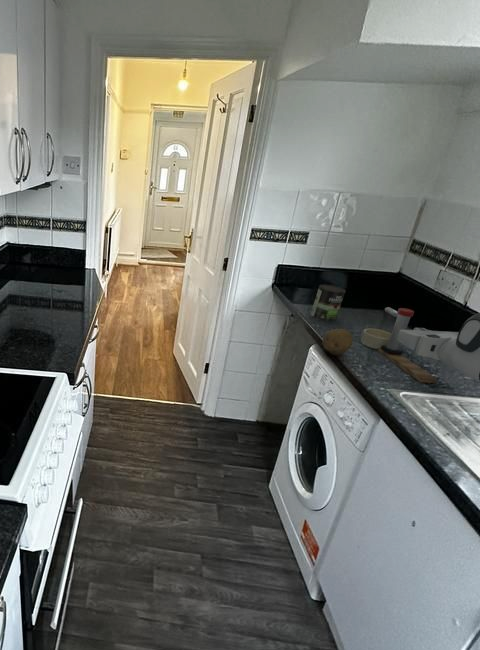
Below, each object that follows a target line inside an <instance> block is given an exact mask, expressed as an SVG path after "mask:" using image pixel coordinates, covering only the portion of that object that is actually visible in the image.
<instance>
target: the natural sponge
mask: <svg viewBox="0 0 480 650" xmlns="http://www.w3.org/2000/svg"><path fill="white" fill-rule="evenodd" d="M353 340H354V339H353V336H352V334H351V333H350V332H349V331H348V330H346V329H343V328H334V329H331V330H329V331H327V332H326V333H325V334H324V336H323V337H322V342H321V344H322V346H323V348H324V349H325V350H326V351H327V352H329V354H330V355H332V356H341V355H343V354H345V353H346V352H347V351H348V350H350V349H351V348H352V346H353V343H354V341H353Z"/></svg>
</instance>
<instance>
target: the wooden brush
mask: <svg viewBox="0 0 480 650" xmlns="http://www.w3.org/2000/svg"><path fill="white" fill-rule="evenodd" d="M377 352H379V354H381V355H382V356H384V357H385V358H386V359H388V360H389V361H390V362H392V363H393V364H394V365H395V366H397V367H398V368H400V369H401V370H402V371H404V372H405V373H407V375H409V376H411V377H412V378H414V379H415V380H417V382H419V383H425V384H426V383H427V384H437V381H438V378H437V377H435V376H433V375H432V374H431V373H429V372H428V371H426V370H425V369H423V368H422V367H420V366H419V365H417V364H416V363H414V362H413V361H411V360H409V359H408V358H407V357H405V356H404V355H403V354H402V355H391V354H387V353H386V352H385V351H383V350H382V349H381V348H379V349H377Z"/></svg>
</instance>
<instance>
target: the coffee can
mask: <svg viewBox="0 0 480 650" xmlns="http://www.w3.org/2000/svg"><path fill="white" fill-rule="evenodd" d="M346 293H347V290H346V289H345V288H343V287H340V286H337V285H332V284H319V285H318V289H317V293H316V296H315V299H314V302H313V305H312V309H311V312H310V314H309V315H310V316H311V317H312V318H313V319H315V320H318V321H321V322H327V323H328V322H331V323H332V322H335V321H336V319H337V318H338V314H339V311H340V309H341V305H342V303H343V299H344V297H345V294H346Z"/></svg>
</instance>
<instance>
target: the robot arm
mask: <svg viewBox="0 0 480 650" xmlns="http://www.w3.org/2000/svg"><path fill="white" fill-rule="evenodd" d="M397 340H398V341H399V342H400V343H401V344H402V345H403V346H404V347H406V348H407V349H409V350H411V351H415V353H414V354H416V355H417V356H418V357H423V358H429V359H433V360H436V361H438V362H442V363H444V364H446V365H448V366H451V367H453V369H455V371H457V372H459V373H461V374H463V375H464V376H466V377H468V378H470V379H472V380H475V381H478V382H480V312H478V313H476V314H473V315H472V316H470V317H468V318H467V320H466V321H464V323H463V324H462V326H461V327H460V329H459V331H442V330H441V331H439V330H431V329H426V328H425V327H414V328H413V329H406V330H400V332H399V334H398V337H397ZM401 344H400V345H401Z"/></svg>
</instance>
